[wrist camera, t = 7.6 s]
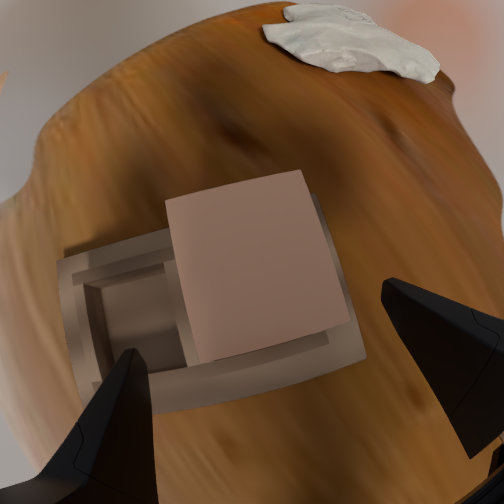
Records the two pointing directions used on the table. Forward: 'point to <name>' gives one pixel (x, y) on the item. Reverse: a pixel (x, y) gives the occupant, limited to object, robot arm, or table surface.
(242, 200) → the clay block
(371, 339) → the table surface
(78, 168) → the table surface
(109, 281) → the rack
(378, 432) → the table surface
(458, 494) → the table surface
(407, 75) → the rock
